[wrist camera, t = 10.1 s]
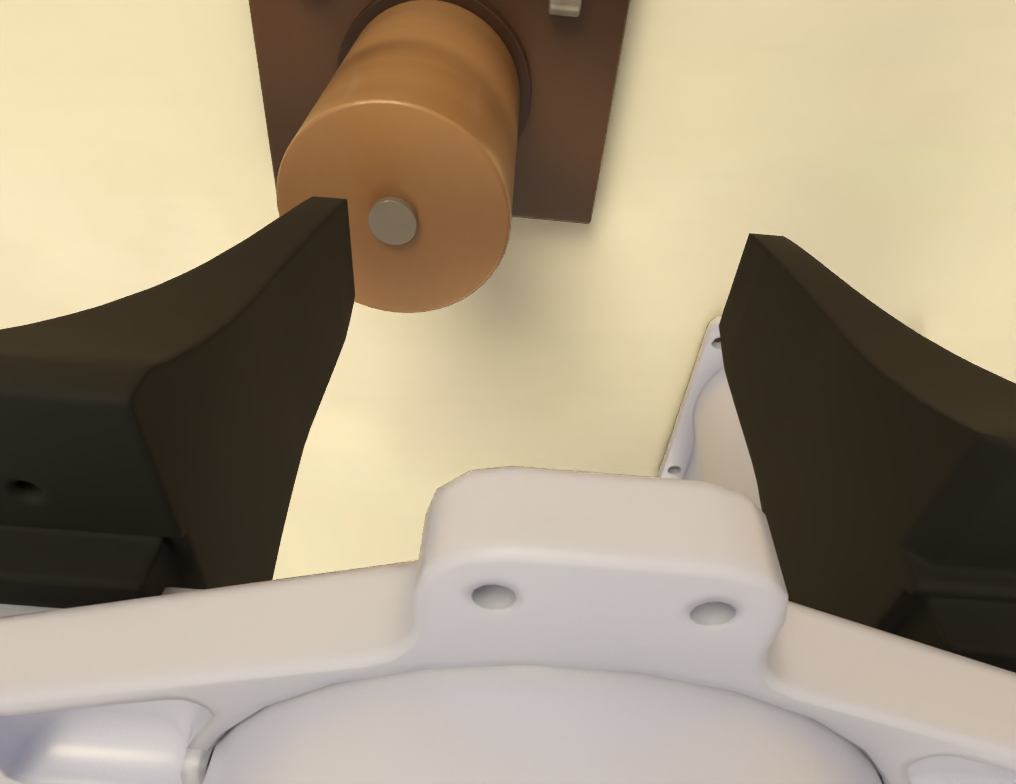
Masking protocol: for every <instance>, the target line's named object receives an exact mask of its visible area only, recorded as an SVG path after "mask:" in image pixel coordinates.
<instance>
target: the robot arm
mask: <svg viewBox="0 0 1016 784" xmlns="http://www.w3.org/2000/svg"><path fill="white" fill-rule="evenodd" d="M354 299H355V285H354V273H353V261H352V250H351V238H350V226H349V214H348V202H347V199H340V198H329V197H317V196H312V197H311V198H309V199H307V200H305V201H303V202H302V203H300V204H299V205H297V206H296V207H294V208H293V209H291V210H290V211H288V212H287V213H285V214H284V215H282V216H281V217H279V218H278V219H276V220H275V221H273V222H272V223H270V224H269V225H267V226H266V227H264V228H263V229H261V230H259V231H258V232H256V233H255V234H253V235H252V236H250V237H249V238H247V239H246V240H244V241H242V242H241V243H239V244H237V245H235V246H234V247H232V248H230V249H229V250H227V251H225V252H223V253H222V254H220V255H218V256H216V257H215V258H213V259H211V260H210V261H208V262H206V263H204V264H202V265H200V266H198V267H196V268H194V269H192V270H190V271H188V272H186V273H184V274H182V275H180V276H178V277H175V278H173V279H171V280H169V281H166V282H164V283H162V284H160V285H157V286H155V287H152V288H150V289H147V290H144V291H141V292H138V293H136V294H133V295H130V296H127V297H124V298H121V299H118V300H116V301H113V302H110V303H107V304H104V305H101V306H98V307H95V308H91V309H88V310H84V311H80V312H77V313H73V314H70V315H66V316H62V317H58V318H54V319H49V320H45V321H41V322H37V323H32V324H28V325H23V326H18V327H12V328H7V329H1V330H0V784H1016V384H1015V383H1013V382H1011V381H1009V380H1006V379H1004V378H1002V377H1000V376H998V375H996V374H994V373H992V372H989V371H987V370H985V369H983V368H981V367H979V366H977V365H974V364H973V363H971V362H969V361H967V360H965V359H963V358H961V357H959V356H957V355H955V354H953V353H951V352H950V351H948V350H946V349H944V348H943V347H941V346H939V345H937V344H936V343H934V342H932V341H930V340H929V339H927V338H925V337H923V336H922V335H920V334H918V333H917V332H915V331H914V330H912V329H910V328H909V327H907V326H906V325H904V324H903V323H901V322H900V321H898V320H897V319H895V318H894V317H892V316H891V315H889V314H888V313H887V312H885V311H884V310H882V309H881V308H879V307H878V306H876V305H875V304H874V303H872V302H871V301H870V300H868V299H867V298H865V297H864V296H863V295H861V294H860V293H859V292H857V291H856V290H855V289H853V288H852V287H851V286H850V285H848V284H847V283H846V282H844V281H843V280H842V279H840V278H839V277H838V276H837V275H835V274H834V273H833V272H832V271H830V270H829V269H828V268H826V267H825V266H824V265H823V264H821V263H820V262H819V261H818V260H816V259H815V258H814V257H812V256H811V255H810V254H809V253H807V252H806V251H805V250H803V249H802V248H801V247H799V246H798V245H796V244H795V243H793V242H792V241H790V240H789V239H787V238H785V237H784V236H774V235H762V234H750V233H749V236H748V239H747V242H746V245H745V248H744V251H743V254H742V257H741V260H740V263H739V266H738V269H737V272H736V275H735V278H734V281H733V284H732V287H731V290H730V293H729V296H728V299H727V302H726V305H725V308H724V311H723V314H722V316H719V317H716V318H714V319H713V320H712V321H710V323H709V325H708V327H707V330H706V333H705V336H704V339H703V342H702V345H701V348H700V351H699V354H698V357H697V360H696V363H695V366H694V369H693V372H692V375H691V378H690V381H689V384H688V387H687V390H686V393H685V396H684V399H683V402H682V405H681V408H680V411H679V414H678V417H677V420H676V423H675V426H674V429H673V432H672V435H671V438H670V441H669V444H668V447H667V450H666V452H665V455H664V458H663V461H662V464H661V467H660V470H659V473H658V476H657V477H646V476H634V475H621V474H608V473H596V472H583V471H571V470H558V469H545V468H533V467H520V466H507V467H497V468H487V469H477V470H471V471H468V472H466V473H464V474H463V475H461V476H459V477H457V478H456V479H454V480H452V481H450V482H448V483H447V484H445V485H443V486H441V487H440V488H438V489H437V490H436V492H435V494H434V497H433V499H432V501H431V504H430V506H429V508H428V511H427V513H426V516H425V522H424V529H423V535H422V541H421V547H420V554H419V560H416V561H409V562H401V563H394V564H387V565H379V566H372V567H365V568H357V569H350V570H343V571H335V572H328V573H321V574H314V575H306V576H299V577H292V578H284V579H277V580H272V578H273V574H274V569H275V565H276V560H277V555H278V551H279V546H280V541H281V537H282V532H283V528H284V524H285V520H286V516H287V512H288V507H289V503H290V499H291V495H292V491H293V487H294V483H295V479H296V475H297V471H298V468H299V464H300V460H301V456H302V452H303V449H304V445H305V442H306V440H307V437H308V434H309V431H310V428H311V425H312V423H313V420H314V418H315V415H316V413H317V410H318V408H319V405H320V403H321V400H322V398H323V395H324V393H325V390H326V388H327V385H328V383H329V380H330V378H331V375H332V373H333V370H334V367H335V365H336V362H337V360H338V357H339V355H340V352H341V349H342V347H343V344H344V341H345V339H346V335H347V331H348V326H349V322H350V318H351V313H352V309H353V304H354ZM717 338H720V342H713V341H714V340H715V339H717ZM672 466H676V467H672ZM671 467H672V468H671Z"/></svg>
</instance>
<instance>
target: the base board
mask: <svg viewBox="0 0 1016 784" xmlns="http://www.w3.org/2000/svg"><path fill="white" fill-rule="evenodd" d="M371 1H372V0H249V6H250V13H251V20H252V27H253V34H254V41H255V48H256V54H257V61H258V68H259V75H260V82H261V89H262V96H263V103H264V110H265V117H266V124H267V131H268V138H269V144H270V151H271V158H272V165H273V172H274V179H275V186H276V189H277V177H278V172H279V168H280V164H281V161H282V159H283V156H284V154H285V152H286V150H287V148H288V146H289V145H290V143H291V141H292V140H293V138H294V137H295V135H296V134H297V132H298V130H299V129H300V127H301V126H302V124H303V123H304V121H305V119H306V118H307V116H308V115H309V113H310V112H311V110H312V109H313V107H314V105H315V104H316V102H317V101H318V99H319V98H320V96H321V94H322V93H323V91H324V90H325V88H326V87H327V85H328V84H329V82H330V80H331V79H332V77H333V76H334V74H335V73H336V70H337V62H338V56H339V52H340V48H341V45H342V42H343V40H344V38H345V35H346V33H347V31H348V30H349V28H350V26H351V25H352V23H353V21H354V20H355V18H356V17H357V16H358V15H359V13H360V12H361V11H362V10H363V9H364V8H365V7H366V6H367V5H368V4H369V3H370V2H371ZM486 1H487V2H489V3H490V4H491V5H492V6H493V7H494V8H496V9H497V10H498V11H499V12H500V13H501V14H502V15H503V17H504V18H505V19H506V20H507V21H508V22H509V24H510V25H511V27H512V28H513V30H514V31H515V32H516V34H517V36H518V38H519V40H520V42H521V44H522V46H523V48H524V51H525V54H526V57H527V59H528V64H529V69H530V74H531V85H532V87H531V105H530V111H529V117H528V120H527V123H526V126H525V129H524V131H523V133H522V136H521V138H520V140H519V141H518V143H517V151H516V164H515V178H514V191H513V204H512V217H522V218H532V219H543V220H554V221H564V222H575V223H585V224H589V223H590V222H591V217H592V212H593V206H594V201H595V195H596V189H597V184H598V178H599V172H600V167H601V161H602V155H603V150H604V144H605V138H606V133H607V127H608V122H609V116H610V110H611V105H612V99H613V93H614V88H615V82H616V76H617V71H618V65H619V59H620V54H621V48H622V43H623V37H624V31H625V26H626V20H627V14H628V9H629V3H630V0H486Z"/></svg>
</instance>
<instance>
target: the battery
mask: <svg viewBox="0 0 1016 784" xmlns="http://www.w3.org/2000/svg"><path fill="white" fill-rule="evenodd" d="M531 87H532V85H531V74H530V69H529V64H528V59H527V57H526V54H525V51H524V48H523V46H522V44H521V42H520V40H519V38H518V36H517V34H516V32H515V31H514V30H513V28H512V27H511V25H510V24H509V22H508V21H507V20H506V19H505V18H504V17H503V15H502V14H501V13H500V12H499V11H498V10H497V9H496V8H494V7H493V6H492V5H491V4H490V3H489V2H487V1H486V0H372V1H371V2H370V3H369V4H368V5H367V6H366V7H365V8H364V9H363V10H362V11H361V12H360V13H359V15H358V16H357V17H356V18H355V20H354V21H353V23H352V25H351V26H350V28H349V30H348V31H347V33H346V35H345V38H344V40H343V42H342V45H341V48H340V52H339V56H338V62H337V70H336V73H335V74H334V76H333V77H332V79H331V80H330V82H329V84H328V85H327V87H326V88H325V90H324V91H323V93H322V94H321V96H320V98H319V99H318V101H317V102H316V104H315V105H314V107H313V109H312V110H311V112H310V113H309V115H308V116H307V118H306V119H305V121H304V123H303V124H302V126H301V127H300V129H299V130H298V132H297V134H296V135H295V137H294V138H293V140H292V141H291V143H290V145H289V146H288V148H287V150H286V152H285V154H284V156H283V159H282V161H281V164H280V168H279V172H278V177H277V189H276V195H277V207H278V211H279V216H280V217H281V216H282V215H284V214H285V213H287V212H288V211H290V210H291V209H293V208H294V207H296V206H297V205H299V204H300V203H302V202H303V201H305V200H307V199H309V198H311V197H312V196H317V197H329V198H340V199H347V202H348V214H349V226H350V238H351V250H352V261H353V273H354V285H355V299H354V301H355V302H357V303H360V304H363V305H365V306H368V307H371V308H375V309H379V310H384V311H391V312H401V313H415V312H426V311H431V310H436V309H440V308H443V307H446V306H449V305H452V304H454V303H456V302H458V301H460V300H462V299H464V298H465V297H467V296H469V295H470V294H472V293H473V292H474V291H476V290H477V289H478V288H479V287H481V286H482V285H483V284H484V283H485V282H486V281H487V280H488V279H489V277H490V276H491V275H492V274H493V272H494V271H495V270H496V268H497V267H498V265H499V263H500V261H501V259H502V257H503V255H504V253H505V250H506V247H507V244H508V241H509V235H510V229H511V218H512V204H513V191H514V178H515V164H516V151H517V143H518V141H519V140H520V138H521V136H522V133H523V131H524V129H525V126H526V123H527V120H528V117H529V111H530V105H531Z"/></svg>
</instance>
